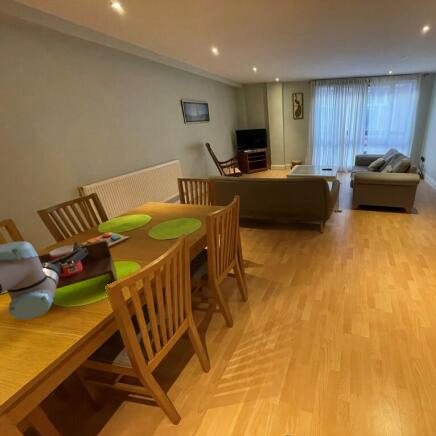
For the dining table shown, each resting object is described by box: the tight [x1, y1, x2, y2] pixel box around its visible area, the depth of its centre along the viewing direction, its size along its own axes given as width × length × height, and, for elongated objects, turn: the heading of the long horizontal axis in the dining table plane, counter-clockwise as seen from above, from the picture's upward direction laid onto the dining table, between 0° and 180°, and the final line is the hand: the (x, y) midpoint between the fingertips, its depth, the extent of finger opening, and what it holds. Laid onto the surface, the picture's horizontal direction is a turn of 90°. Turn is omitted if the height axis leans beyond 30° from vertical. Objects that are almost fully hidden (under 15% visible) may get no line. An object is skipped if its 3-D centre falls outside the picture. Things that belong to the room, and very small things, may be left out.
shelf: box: [38, 240, 118, 290], centre depth 102 cm, size 28×16×17 cm, turn 126°
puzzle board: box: [80, 231, 130, 248], centre depth 146 cm, size 18×19×4 cm
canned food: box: [48, 245, 83, 278], centre depth 100 cm, size 8×8×11 cm
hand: (53, 250), depth 88 cm, fingers open, 13 cm apart
